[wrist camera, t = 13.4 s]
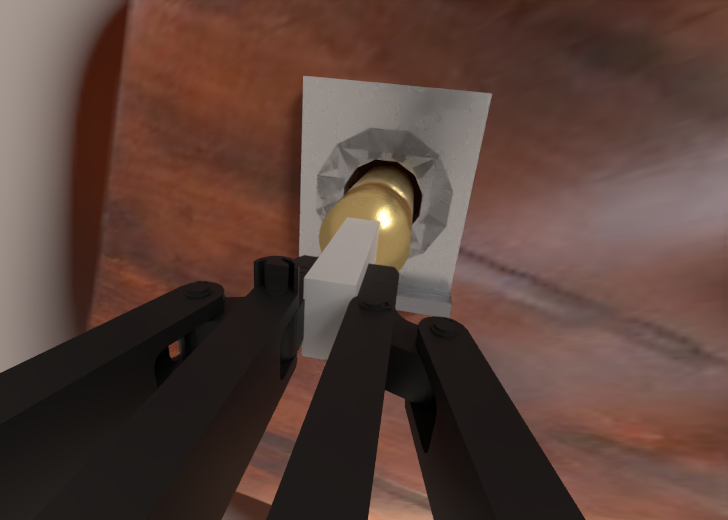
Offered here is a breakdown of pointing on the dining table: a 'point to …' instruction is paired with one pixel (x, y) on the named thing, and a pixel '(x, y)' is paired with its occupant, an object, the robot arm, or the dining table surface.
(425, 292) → the plate
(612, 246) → the dining table surface
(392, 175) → the gold metal cylinder
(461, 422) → the robot arm
